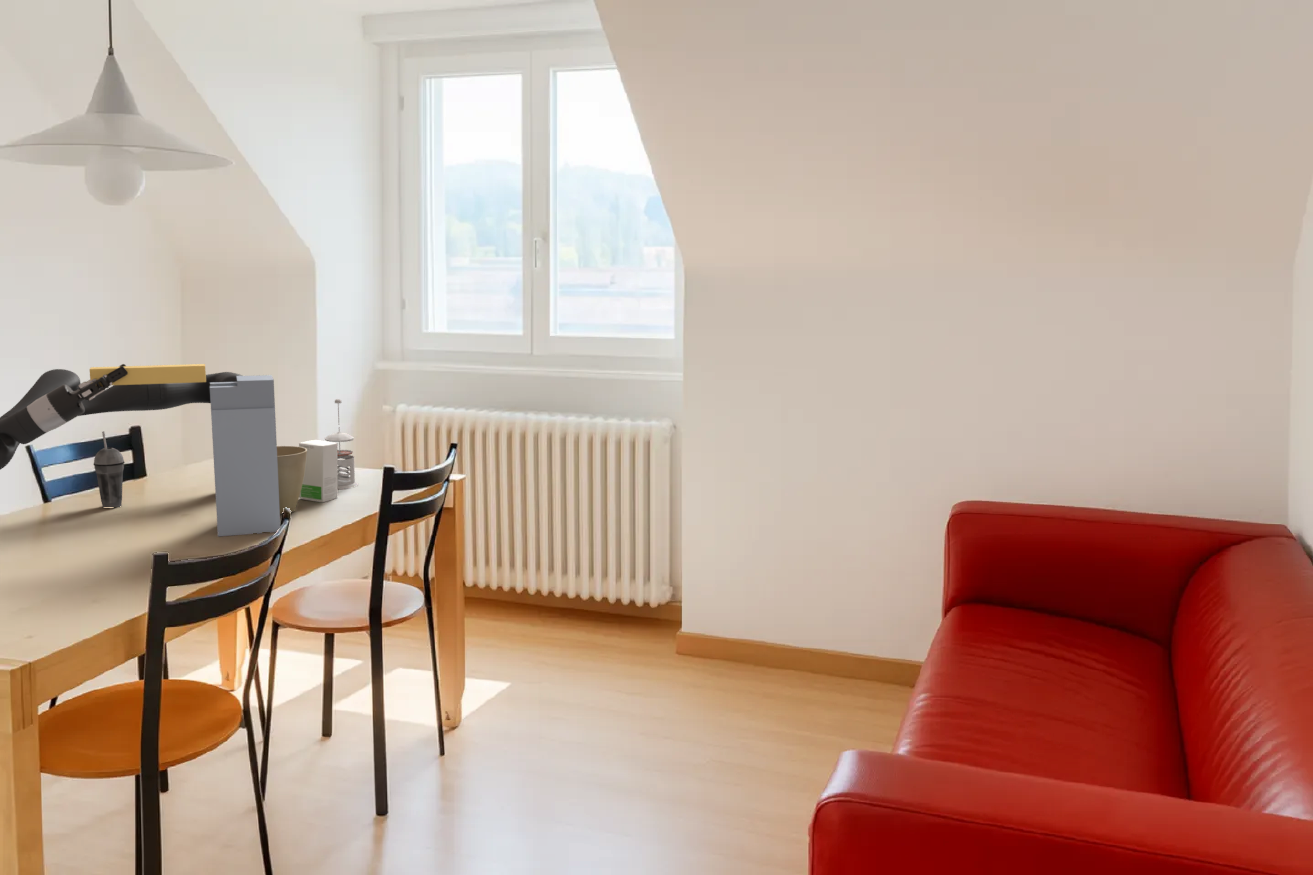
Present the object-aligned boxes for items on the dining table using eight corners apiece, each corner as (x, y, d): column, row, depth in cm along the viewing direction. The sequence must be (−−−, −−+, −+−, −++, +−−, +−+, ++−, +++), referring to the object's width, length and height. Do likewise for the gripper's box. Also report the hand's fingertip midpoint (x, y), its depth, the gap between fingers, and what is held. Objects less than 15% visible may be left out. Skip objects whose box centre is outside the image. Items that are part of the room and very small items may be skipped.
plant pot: (292, 502, 295) (290, 443, 292) (320, 512, 285) (317, 451, 282) (238, 510, 285) (235, 450, 282) (264, 521, 274) (261, 458, 271)
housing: (217, 536, 260) (209, 382, 254) (217, 525, 270) (209, 376, 264) (280, 531, 265) (273, 380, 259) (278, 520, 275) (271, 374, 269)
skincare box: (298, 499, 298) (296, 442, 295) (315, 494, 304) (312, 439, 301) (324, 502, 295) (322, 445, 292) (340, 497, 301) (338, 441, 298)
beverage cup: (134, 504, 289) (129, 429, 286) (112, 511, 282) (106, 434, 279) (112, 502, 291) (106, 427, 288) (89, 508, 285) (84, 432, 281)
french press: (353, 489, 311) (350, 401, 307) (312, 488, 311) (308, 400, 307) (362, 482, 321) (360, 396, 317) (323, 481, 321) (320, 396, 317)
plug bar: (90, 386, 248) (89, 369, 247) (92, 383, 251) (91, 367, 251) (206, 382, 257) (204, 365, 256) (206, 380, 260) (205, 364, 259)
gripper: (40, 399, 240) (113, 357, 244) (49, 390, 253) (118, 351, 257) (62, 427, 242) (134, 386, 246) (70, 417, 255) (138, 378, 259)
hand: (125, 368), depth 252 cm, fingers closed on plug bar, 3 cm apart
